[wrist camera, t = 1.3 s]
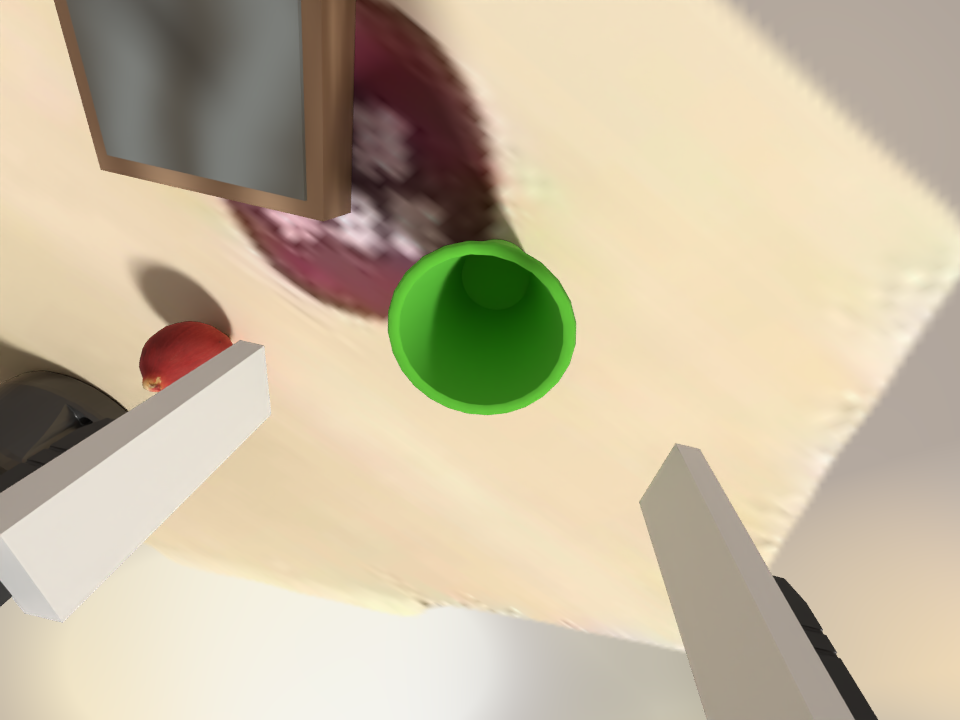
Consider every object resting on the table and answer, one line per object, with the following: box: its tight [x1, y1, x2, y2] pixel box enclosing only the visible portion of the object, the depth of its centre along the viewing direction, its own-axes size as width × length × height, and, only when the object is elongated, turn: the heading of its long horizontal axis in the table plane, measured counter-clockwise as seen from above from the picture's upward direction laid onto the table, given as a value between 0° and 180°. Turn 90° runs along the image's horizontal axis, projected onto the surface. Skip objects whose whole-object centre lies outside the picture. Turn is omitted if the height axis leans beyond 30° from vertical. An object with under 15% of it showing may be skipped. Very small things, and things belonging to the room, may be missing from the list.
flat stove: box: [54, 0, 356, 221], centre depth 21 cm, size 14×14×4 cm
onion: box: [139, 321, 233, 392], centre depth 29 cm, size 6×6×8 cm
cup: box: [388, 239, 576, 415], centre depth 22 cm, size 9×9×11 cm
